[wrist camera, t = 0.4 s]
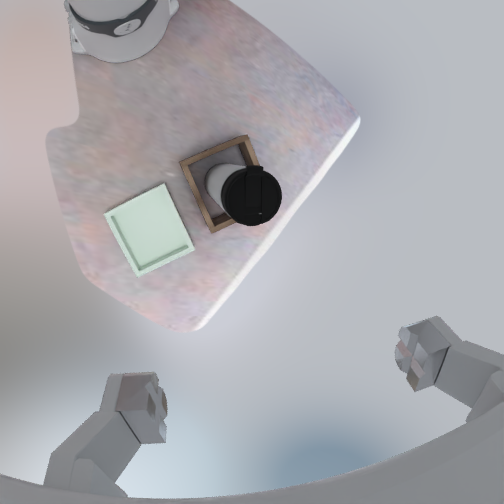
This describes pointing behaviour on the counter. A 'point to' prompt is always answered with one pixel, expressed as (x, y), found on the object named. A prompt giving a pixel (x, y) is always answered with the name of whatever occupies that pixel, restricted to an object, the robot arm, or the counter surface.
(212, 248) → the counter surface
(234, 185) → the travel mug
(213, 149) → the square wooden frame
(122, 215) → the dock
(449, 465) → the robot arm
